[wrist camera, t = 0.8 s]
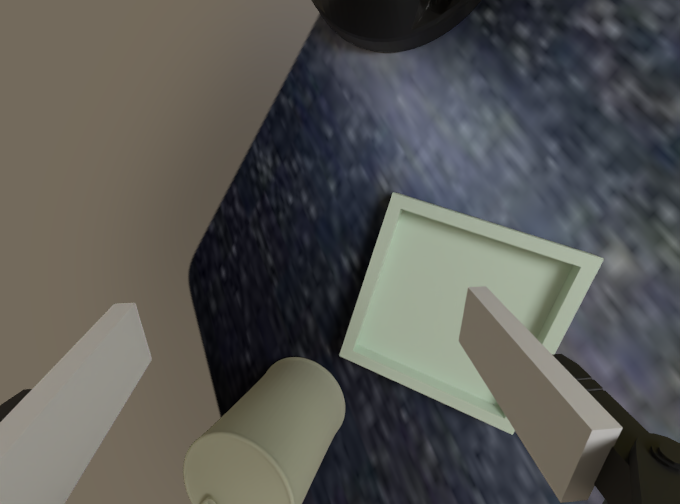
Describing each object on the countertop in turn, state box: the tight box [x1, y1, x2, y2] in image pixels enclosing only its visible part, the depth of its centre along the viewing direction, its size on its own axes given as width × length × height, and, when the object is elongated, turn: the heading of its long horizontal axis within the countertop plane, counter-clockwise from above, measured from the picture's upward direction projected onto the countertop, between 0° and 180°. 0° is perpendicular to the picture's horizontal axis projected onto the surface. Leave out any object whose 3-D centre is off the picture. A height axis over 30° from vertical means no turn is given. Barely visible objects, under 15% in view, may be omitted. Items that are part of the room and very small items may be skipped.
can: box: [183, 357, 345, 504], centre depth 29 cm, size 9×9×12 cm
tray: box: [339, 193, 604, 435], centre depth 27 cm, size 15×15×2 cm
